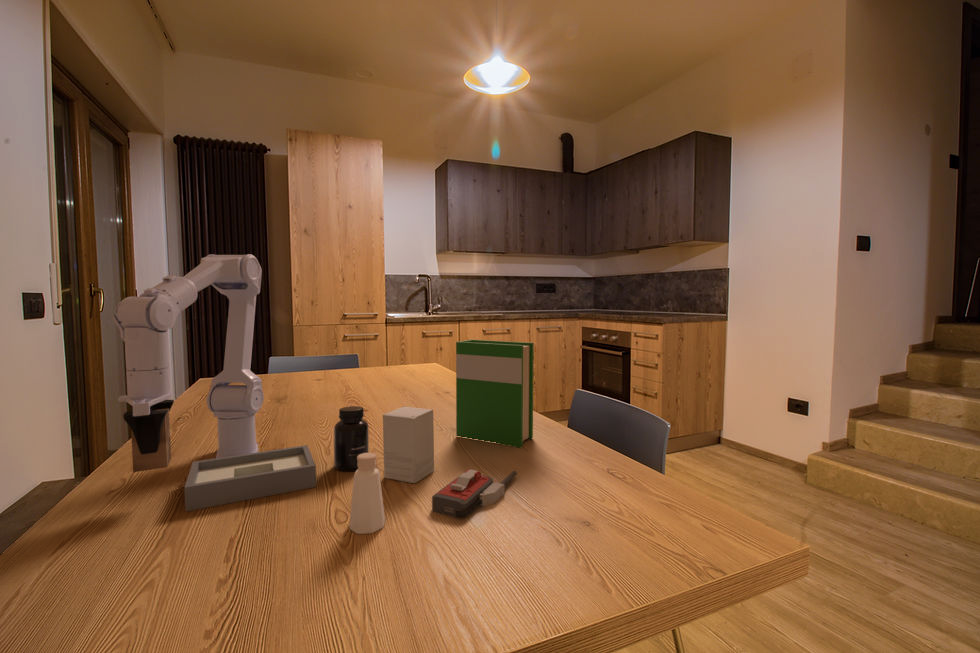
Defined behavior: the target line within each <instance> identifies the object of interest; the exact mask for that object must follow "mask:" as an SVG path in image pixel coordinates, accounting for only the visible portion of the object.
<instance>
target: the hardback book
mask: <svg viewBox="0 0 980 653" xmlns="http://www.w3.org/2000/svg"><path fill="white" fill-rule="evenodd" d="M455 343H456V344H455V374H456V375H455V376H456V377H455V378H456V380H455V381H456V382H455V386H456V389H455V390H456V392H455V394H456V395H455V397H456V398H455V399H456V400H455V401H456V404H455V406H456V408H455V409H456V411H455V413H456V419H455V420H456V423H455V425H456V428H455V429H456V431H455V432H456V436H461V437H467V438H472V439H478V440H484V441H490V442H496V443H500V444H499V445H501V444H505V445H504V446H507V445H511V446H510V447H513V446H516V447H515V448H519V447H522V446H523V445H524V441H525V440H528V439H532V438H533V439H534V350H535V349H534V347H535V346H534V343H535V342H527V341H525V342H524V341H507V340H506V341H505V340H490V339H489V340H485V339H483V340H482V339H467V340H460V341H456V342H455ZM456 436H455V437H456ZM527 438H528V439H527ZM533 439H532V440H533ZM523 447H524V446H523ZM523 447H522V448H523Z"/></svg>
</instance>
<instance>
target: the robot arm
mask: <svg viewBox="0 0 980 653" xmlns="http://www.w3.org/2000/svg"><path fill="white" fill-rule="evenodd" d="M262 273H263V271H262V267H261V265H260V262H259V261H258V259H257V257H256V256H255V255H253V254H251V253H250V254H249V253H248V254H211V253H210V254H208V255H206V256H205V257H201V259H200V263H199V264H198V265H197V266H196V267H194V268H193V269H191V270H190V271H189V272H188V273H186V274H185V275H184V276H183V277H182V276H179V275H166V276H164V277H162V282H160V283H158V284H155V286H153V287H151V288H149V287H148V288H146V289H145V290H143V293H141V294H140V295H139V296H127V297H125V298H123V299H122V300H121V301H119V302H118V304H117V306H116V307H115V310H114V313H112V319H113V321H114V324H115V326H116V327H117V328H118V330H119V331H120V332H119V333H120V339H122V342H124V347H125V348H124V353H125V356H124V357H125V368H126V369H125V371H126V388H127V389H126V391H127V393H126V394H127V395H120V396H119V397H118V398H117V400H118V402H119V403H120V402H121V403H123V402H124V403H125V402H126V403H127V404H129V405H130V406H131V407H132V410H130V411H125V412H124V413H123V414H122V418H123V420H124V422H125V423H126V424H127V425H128V426H129V427H130V431H131V430H132V431H133V433H134V436H135V439H136V442H137V445H138V448H139V451H140V453H141V454H149V453H156V452H157V450H158V447H159V441H160V433H161V427H162V424H163V421H164V418H165V416H166V414H167V412H168V410H160V411H155V410H157V409H168V408H169V413H170V411H171V409H172V407H173V405H174V403H175V400H174V399H171V398H172V397H173V392H172V391H171V378H170V377H171V374H170V373H171V372H170V354H169V352H170V351H169V333H168V332H169V330H170V329H173V327H174V325H175V324H176V321H177V317H178V316H179V315H180V313H181V312H183V311H184V310H186V309H187V308H188V307H189V306H191V305H193V303H195V302H196V301H197V299H198V292H200V291H202V290H204V289H205V288H207V287H209V286H210V285H211V286H212V287H214V288H215V290H216V291H218V292H219V294H221V295H224V296H225V297H226V298H227V299H228V302H229V304H228V315H227V316H228V317H227V326H226V327H227V328H226V337H225V346H224V348H225V349H224V351H225V352H224V359H223V370H222V371H220V372H219V373H218V374H217V375H215V376H214V377H213V378H212V379H211V385H210V387H209V391H208V392H207V396H206V405H207V407H208V410H209V411H210V413H212V414H213V417H214V418H216V419H217V420H216V421H217V443H218V445H217V446H218V447H217V452H216V457H215V458H222V457H229V456H236V455H242V454H249V453H256V452H259V446H258V442H257V438H256V435H257V434H256V414H257V413H259V411H260V410H261V407H262V406H263V404H264V396H265V395H264V392H263V391H264V390H263V379H262V378H260V377H259V376H258V375H257V374H255V373H254V372H253V371H252V370H251V365H252V355H253V353H252V352H253V342H254V341H253V340H254V329H255V328H254V327H255V317H256V316H255V315H256V305H257V304H256V303H257V295H259V294H260V293H261V285H262ZM233 383H236V384H233ZM237 383H240V384H237Z"/></svg>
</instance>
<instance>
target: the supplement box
mask: <svg viewBox="0 0 980 653" xmlns="http://www.w3.org/2000/svg"><path fill="white" fill-rule="evenodd" d="M382 431H383V432H382V437H383V441H382V442H383V477H384V479H390V480H394V481H395V480H396V481H400V482H404V483H410V484H416V483H417V482H419V481H421V480H423V479H424V478H425V477H427V476H428V475H430V474H432V473H433V472H434V471H435V452H434V451H435V447H434V446H435V445H434V444H435V442H434V441H435V439H434V435H435V434H434V409H429V408H421V407H419V408H418V407H414V406H413V407H411V406H402V407H399V408H397V409H394V410H391V411H389V412H386V413H384V414H382Z"/></svg>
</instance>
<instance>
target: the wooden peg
mask: <svg viewBox="0 0 980 653" xmlns="http://www.w3.org/2000/svg"><path fill="white" fill-rule="evenodd" d="M160 410H168V412H167V414H166V416H165V418H164V421H163V424H162V427H161V433H160V441H159V447H158V450H157V452H156V453H149V454H141V453H140V451H139V448H138V445H137V442H136V439H135V436H134V433H133V431H132V430H131V429H130V434H131V435H130V437H131V456H132V473H138V472H145V471H150V470H151V471H152V470H158V469H163V468H164V469H165V468H168V467H169V464H170V462H171V460H172V448H171V447H172V446H171V426H170V425H171V424H170V423H171V422H170V412H169V408H168V409H157V410H155V411H160Z"/></svg>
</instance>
